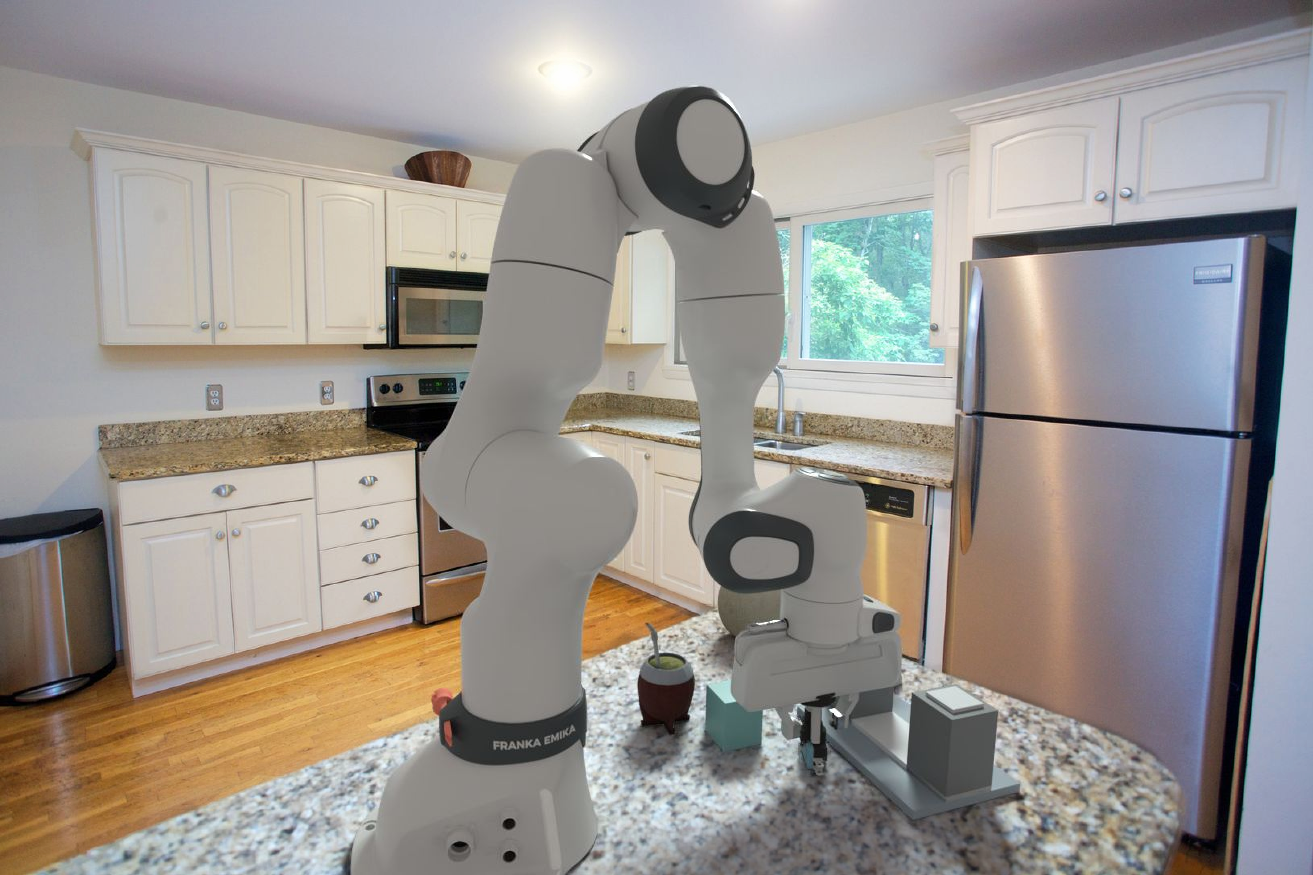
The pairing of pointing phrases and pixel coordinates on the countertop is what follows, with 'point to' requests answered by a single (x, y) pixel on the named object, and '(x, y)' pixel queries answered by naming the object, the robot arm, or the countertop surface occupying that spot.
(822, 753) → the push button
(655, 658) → the mate gourd
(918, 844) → the countertop surface
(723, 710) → the block
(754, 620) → the fruit
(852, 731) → the gray block stand
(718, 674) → the countertop surface
